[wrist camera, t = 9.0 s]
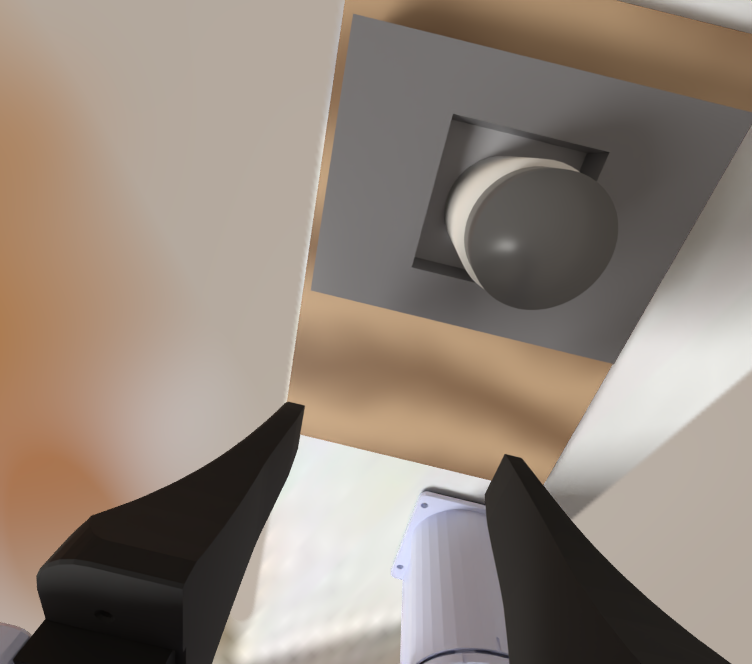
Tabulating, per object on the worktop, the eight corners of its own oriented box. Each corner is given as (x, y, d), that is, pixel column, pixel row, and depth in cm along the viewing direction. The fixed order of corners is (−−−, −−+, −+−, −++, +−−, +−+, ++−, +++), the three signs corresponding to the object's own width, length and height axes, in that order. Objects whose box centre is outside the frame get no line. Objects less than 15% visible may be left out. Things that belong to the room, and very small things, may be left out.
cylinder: (569, 205, 16) (659, 237, 10) (491, 279, 18) (532, 341, 12) (498, 131, 15) (555, 120, 9) (423, 216, 17) (432, 252, 11)
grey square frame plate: (697, 121, 15) (757, 113, 13) (586, 335, 20) (613, 364, 17) (364, 39, 15) (352, 13, 13) (325, 272, 20) (310, 290, 17)
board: (534, 480, 25) (539, 492, 24) (287, 420, 25) (282, 430, 24) (772, 51, 15) (795, 44, 14) (358, -52, 15) (354, -65, 14)
